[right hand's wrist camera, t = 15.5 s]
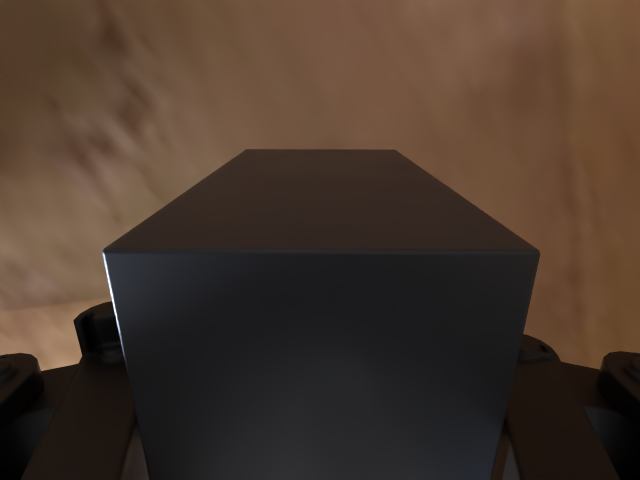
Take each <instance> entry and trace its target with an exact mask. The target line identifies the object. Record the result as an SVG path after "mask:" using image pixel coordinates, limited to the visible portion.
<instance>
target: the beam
mask: <svg viewBox="0 0 640 480" xmlns="http://www.w3.org/2000/svg"><path fill="white" fill-rule="evenodd" d="M539 257H540V252H539V250H538V249H536V248H535V247H533V246H532V245H530V244H529V243H528V242H526V241H525V240H523V239H522V238H520V237H519V236H518V235H516V234H515V233H513V232H512V231H510V230H509V229H508V228H506V227H505V226H503V225H502V224H500V223H499V222H498V221H496V220H495V219H493V218H492V217H490V216H489V215H488V214H486V213H485V212H483V211H482V210H480V209H479V208H478V207H476V206H475V205H473V204H472V203H470V202H469V201H468V200H466V199H465V198H463V197H462V196H460V195H459V194H458V193H456V192H455V191H453V190H452V189H450V188H449V187H448V186H446V185H445V184H443V183H442V182H440V181H439V180H438V179H436V178H435V177H433V176H432V175H430V174H429V173H428V172H426V171H425V170H423V169H422V168H420V167H419V166H418V165H416V164H415V163H413V162H412V161H410V160H409V159H408V158H406V157H405V156H403V155H402V154H400V153H399V152H398V151H396V150H291V149H246V150H245V151H243V152H242V153H240V154H239V155H238V156H236V157H235V158H233V159H232V160H230V161H229V162H227V163H226V164H225V165H223V166H222V167H220V168H219V169H217V170H216V171H215V172H213V173H212V174H210V175H209V176H207V177H206V178H205V179H203V180H202V181H200V182H199V183H197V184H196V185H195V186H193V187H192V188H190V189H189V190H187V191H186V192H185V193H183V194H182V195H180V196H179V197H177V198H176V199H175V200H173V201H172V202H170V203H169V204H167V205H166V206H165V207H163V208H162V209H160V210H159V211H157V212H156V213H154V214H153V215H152V216H150V217H149V218H147V219H146V220H144V221H143V222H142V223H140V224H139V225H137V226H136V227H134V228H133V229H132V230H130V231H129V232H127V233H126V234H124V235H123V236H122V237H120V238H119V239H117V240H116V241H114V242H113V243H112V244H110V245H109V246H107V247H106V248H104V249H103V259H104V264H105V268H106V273H107V278H108V283H109V288H110V292H111V297H112V302H113V307H114V312H115V317H116V321H117V326H118V331H119V336H120V341H121V345H122V350H123V355H124V360H125V365H126V369H127V374H128V379H129V384H130V389H131V393H132V398H133V403H134V408H135V413H136V418H137V422H138V427H139V432H140V437H141V442H142V446H143V451H144V456H145V461H146V466H147V470H148V475H149V480H491V479H492V474H493V470H494V465H495V460H496V456H497V451H498V447H499V442H500V437H501V433H502V428H503V423H504V419H505V414H506V410H507V405H508V400H509V396H510V391H511V386H512V382H513V377H514V373H515V368H516V363H517V359H518V354H519V350H520V345H521V340H522V336H523V331H524V326H525V322H526V317H527V313H528V308H529V303H530V299H531V294H532V289H533V285H534V280H535V276H536V271H537V266H538V262H539Z"/></svg>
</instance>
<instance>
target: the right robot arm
mask: <svg viewBox="0 0 640 480" xmlns="http://www.w3.org/2000/svg"><path fill="white" fill-rule="evenodd" d="M73 321H74V325H75V329H76V333H77V336H78V340H79V344H80V348H81V352H82V358H81V360H80V362H79V364H75V365H71V366H65V367H60V368H55V369H50V370H45V371H41V370H40V367H39V363H38V360H37V358H35V357H34V356H33V355H31V354H24V353H16V354H6V355H1V356H0V480H149V475H148V470H147V466H146V461H145V456H144V451H143V446H142V442H141V437H140V432H139V427H138V422H137V418H136V413H135V408H134V403H133V398H132V393H131V389H130V384H129V379H128V374H127V369H126V365H125V360H124V355H123V350H122V345H121V341H120V336H119V331H118V326H117V321H116V317H115V312H114V307H113V302H112V301H111V302H105V303H102V304H99V305H97V306H94V307H91V308H89V309H87V310H86V311H84V312H82V313H80V314H79V315H78V316H77V317H76V318H75V319H74V320H73ZM491 480H640V354H639V353H631V352H622V351H619V352H611V353H609V354H607V355H606V356H605V357H604V358H603V361H602V365H601V368H600V370H599V369H594V368H589V367H584V366H579V365H574V364H569V363H565V362H561V361H560V359H559V357H558V355H557V354H556V353H555V351H554V350H553V349H552V348H551V347H550V346H548V345H547V344H545V343H544V342H542V341H541V340H538V339H536V338H533V337H531V336H529V335H524V334H523V336H522V340H521V345H520V350H519V354H518V359H517V363H516V368H515V373H514V377H513V382H512V386H511V391H510V396H509V400H508V405H507V410H506V414H505V419H504V423H503V428H502V433H501V437H500V442H499V447H498V451H497V456H496V460H495V465H494V470H493V474H492V479H491Z"/></svg>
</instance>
